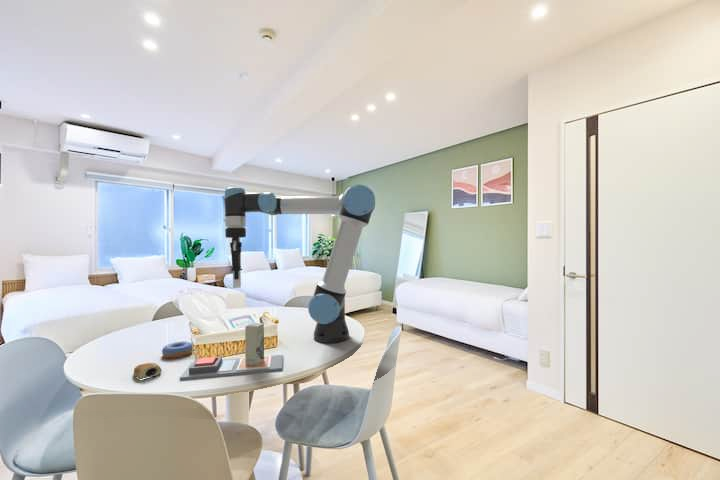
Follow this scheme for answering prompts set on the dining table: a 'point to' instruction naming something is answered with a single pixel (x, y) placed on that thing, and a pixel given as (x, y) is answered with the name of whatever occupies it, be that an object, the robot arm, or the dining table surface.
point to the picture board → (232, 367)
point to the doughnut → (177, 350)
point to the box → (254, 344)
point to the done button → (206, 361)
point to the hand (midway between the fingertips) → (237, 287)
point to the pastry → (147, 370)
